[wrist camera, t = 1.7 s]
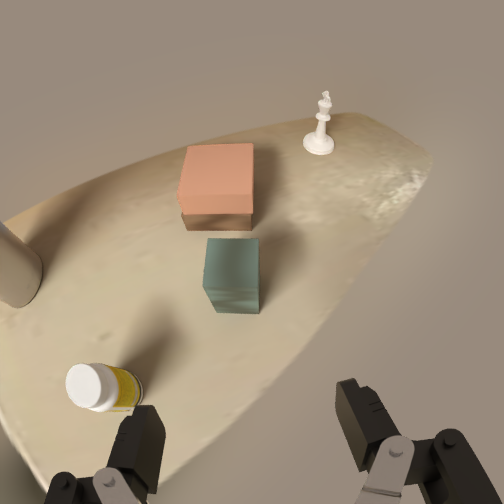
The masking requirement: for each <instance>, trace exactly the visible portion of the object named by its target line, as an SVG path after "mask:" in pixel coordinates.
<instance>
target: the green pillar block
mask: <svg viewBox="0 0 504 504" xmlns="http://www.w3.org/2000/svg"><path fill="white" fill-rule="evenodd" d="M203 288H204V290H205V292H206V294H207V295H208V297H209V299H210V301H211V303H212V305H213V307H214V308H215V310H216V312H217V313H240V314H259V291H260V264H259V239H222V238H208V241H207V249H206V258H205V267H204V276H203Z"/></svg>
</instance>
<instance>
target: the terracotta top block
mask: <svg viewBox="0 0 504 504" xmlns="http://www.w3.org/2000/svg"><path fill="white" fill-rule="evenodd" d="M253 193H254V151H253V143H239V144H213V145H196V146H188V148H187V152H186V156H185V160H184V165H183V169H182V173H181V178H180V182H179V187H178V191H177V199H178V201H179V204H180V206H181V209H182V212H183V214H184V215H193V214H253Z"/></svg>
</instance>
